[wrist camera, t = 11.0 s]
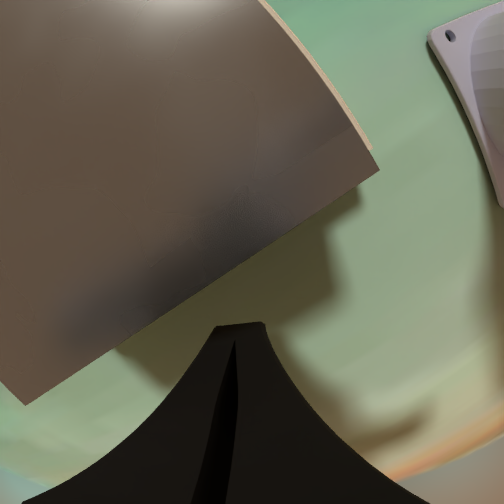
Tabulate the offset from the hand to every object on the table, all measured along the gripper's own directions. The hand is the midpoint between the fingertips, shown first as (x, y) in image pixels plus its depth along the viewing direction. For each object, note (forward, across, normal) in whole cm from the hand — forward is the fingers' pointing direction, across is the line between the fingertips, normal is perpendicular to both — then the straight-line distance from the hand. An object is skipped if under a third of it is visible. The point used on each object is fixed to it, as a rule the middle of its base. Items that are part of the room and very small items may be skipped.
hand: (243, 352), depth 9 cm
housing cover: (+1, +4, -7) cm, 8 cm away
